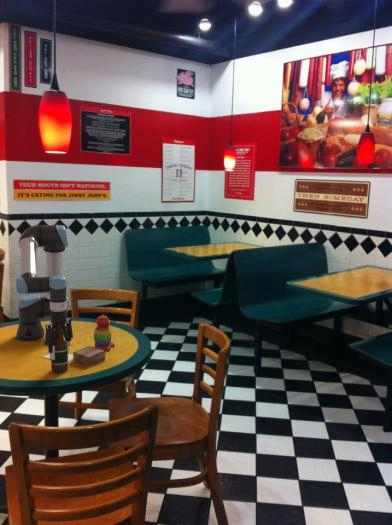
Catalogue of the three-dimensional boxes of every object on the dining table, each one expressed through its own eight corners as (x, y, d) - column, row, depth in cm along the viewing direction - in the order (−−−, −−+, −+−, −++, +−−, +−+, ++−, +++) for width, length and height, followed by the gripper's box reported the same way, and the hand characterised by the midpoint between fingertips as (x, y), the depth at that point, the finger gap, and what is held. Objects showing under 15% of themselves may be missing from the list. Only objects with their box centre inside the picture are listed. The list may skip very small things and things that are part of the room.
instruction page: (42, 357, 256) (42, 356, 256) (55, 351, 265) (55, 350, 265) (66, 363, 250) (66, 362, 250) (79, 356, 259) (79, 355, 259)
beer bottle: (52, 367, 244) (51, 319, 240) (69, 367, 245) (68, 319, 240) (49, 374, 236) (48, 324, 232) (66, 373, 237) (65, 324, 233)
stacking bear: (108, 352, 266) (108, 319, 263) (90, 350, 268) (90, 317, 265) (115, 345, 277) (115, 313, 273) (98, 343, 279) (98, 312, 275)
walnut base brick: (73, 361, 253) (73, 352, 252) (89, 355, 262) (89, 345, 261) (88, 366, 247) (88, 357, 246) (105, 360, 256) (105, 350, 255)
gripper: (45, 316, 225) (47, 364, 229) (80, 306, 241) (81, 352, 246) (34, 312, 229) (36, 360, 233) (70, 303, 245) (70, 348, 250)
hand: (59, 356), depth 239 cm, fingers closed on beer bottle, 8 cm apart
